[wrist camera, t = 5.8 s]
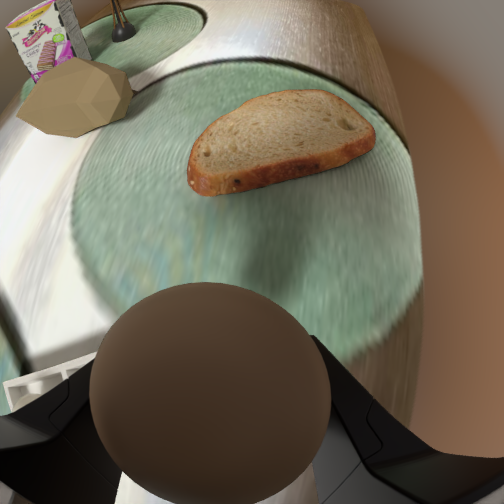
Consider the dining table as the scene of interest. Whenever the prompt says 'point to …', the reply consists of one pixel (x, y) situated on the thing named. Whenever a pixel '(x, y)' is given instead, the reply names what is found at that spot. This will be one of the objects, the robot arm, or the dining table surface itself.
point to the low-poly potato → (77, 98)
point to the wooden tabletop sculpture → (121, 24)
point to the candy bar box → (48, 36)
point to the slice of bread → (277, 141)
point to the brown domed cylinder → (210, 395)
